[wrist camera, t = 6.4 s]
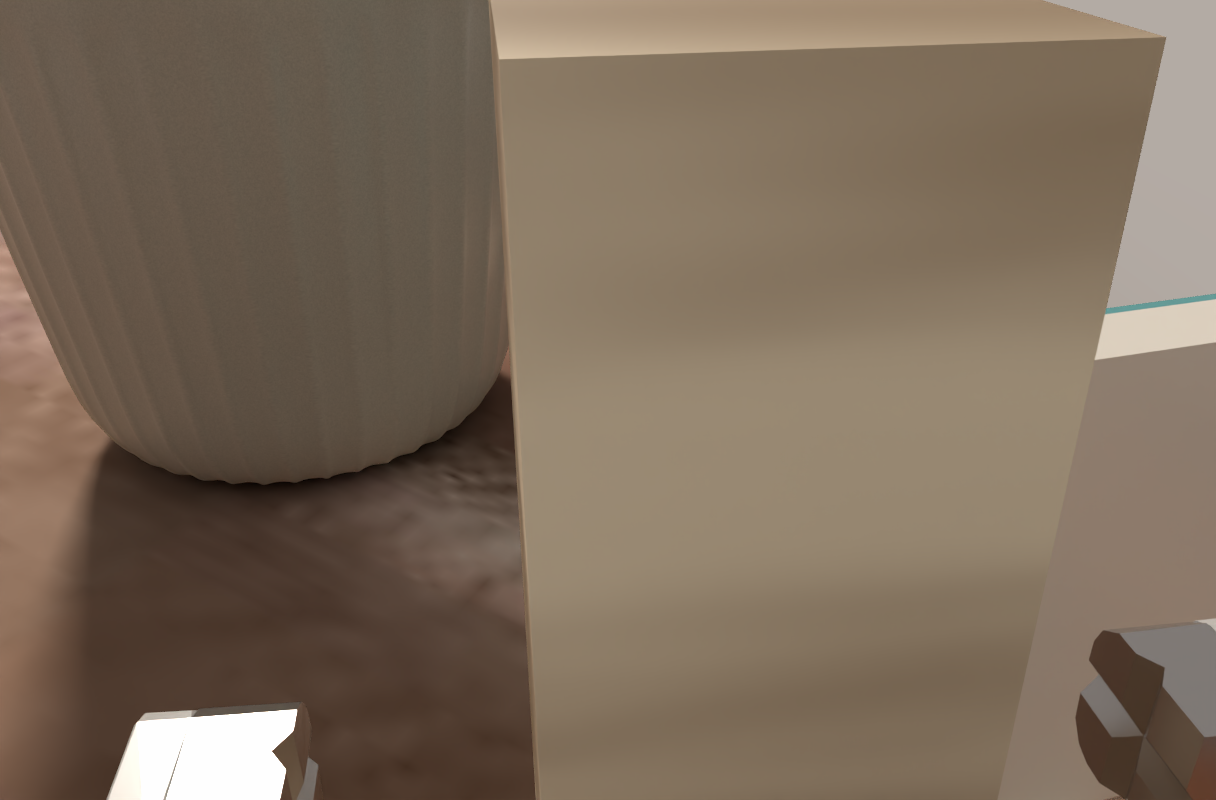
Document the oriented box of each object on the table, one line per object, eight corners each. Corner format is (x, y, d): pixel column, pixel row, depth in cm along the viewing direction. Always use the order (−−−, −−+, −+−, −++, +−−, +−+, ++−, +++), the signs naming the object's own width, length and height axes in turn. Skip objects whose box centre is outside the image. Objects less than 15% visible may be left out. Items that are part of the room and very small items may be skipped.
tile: (1219, 769, 22) (1379, 318, 17) (863, 861, 20) (933, 383, 15) (1164, 715, 23) (1297, 282, 19) (825, 796, 22) (879, 338, 17)
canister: (47, 337, 41) (-136, -321, 32) (506, 277, 47) (472, -306, 37) (-36, 629, 26) (-436, -461, 16) (659, 492, 31) (672, -403, 22)
